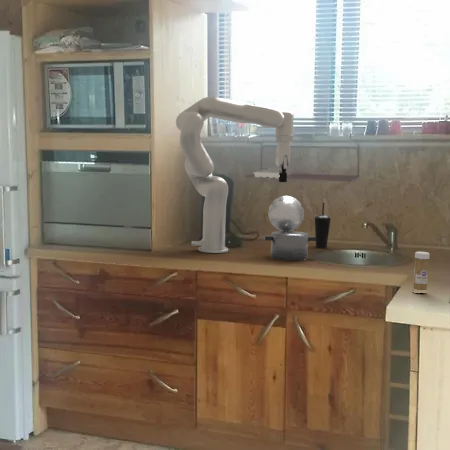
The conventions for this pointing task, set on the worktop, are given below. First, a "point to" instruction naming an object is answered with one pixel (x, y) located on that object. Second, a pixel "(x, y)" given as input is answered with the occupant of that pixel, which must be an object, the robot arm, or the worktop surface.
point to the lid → (286, 213)
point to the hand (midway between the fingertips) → (282, 181)
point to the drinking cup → (322, 229)
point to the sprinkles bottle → (421, 270)
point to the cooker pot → (289, 245)
